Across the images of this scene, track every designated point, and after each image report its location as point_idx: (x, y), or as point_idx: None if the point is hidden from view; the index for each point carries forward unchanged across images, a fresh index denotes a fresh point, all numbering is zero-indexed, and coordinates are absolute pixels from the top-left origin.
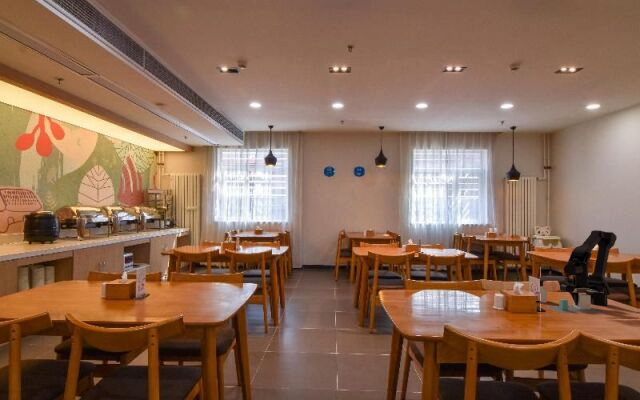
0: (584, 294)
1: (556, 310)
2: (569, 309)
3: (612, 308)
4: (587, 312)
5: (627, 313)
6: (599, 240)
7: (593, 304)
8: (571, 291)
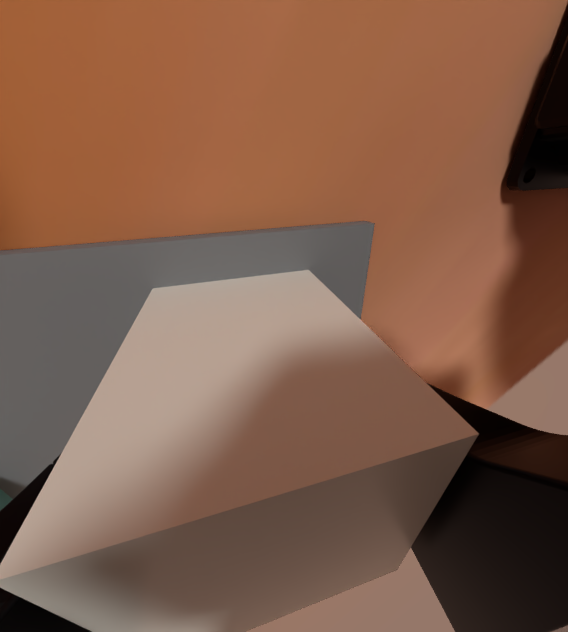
0: (366, 541)
1: None
2: (43, 453)
3: (558, 251)
4: None
5: (483, 391)
6: None
7: (541, 105)
8: None
